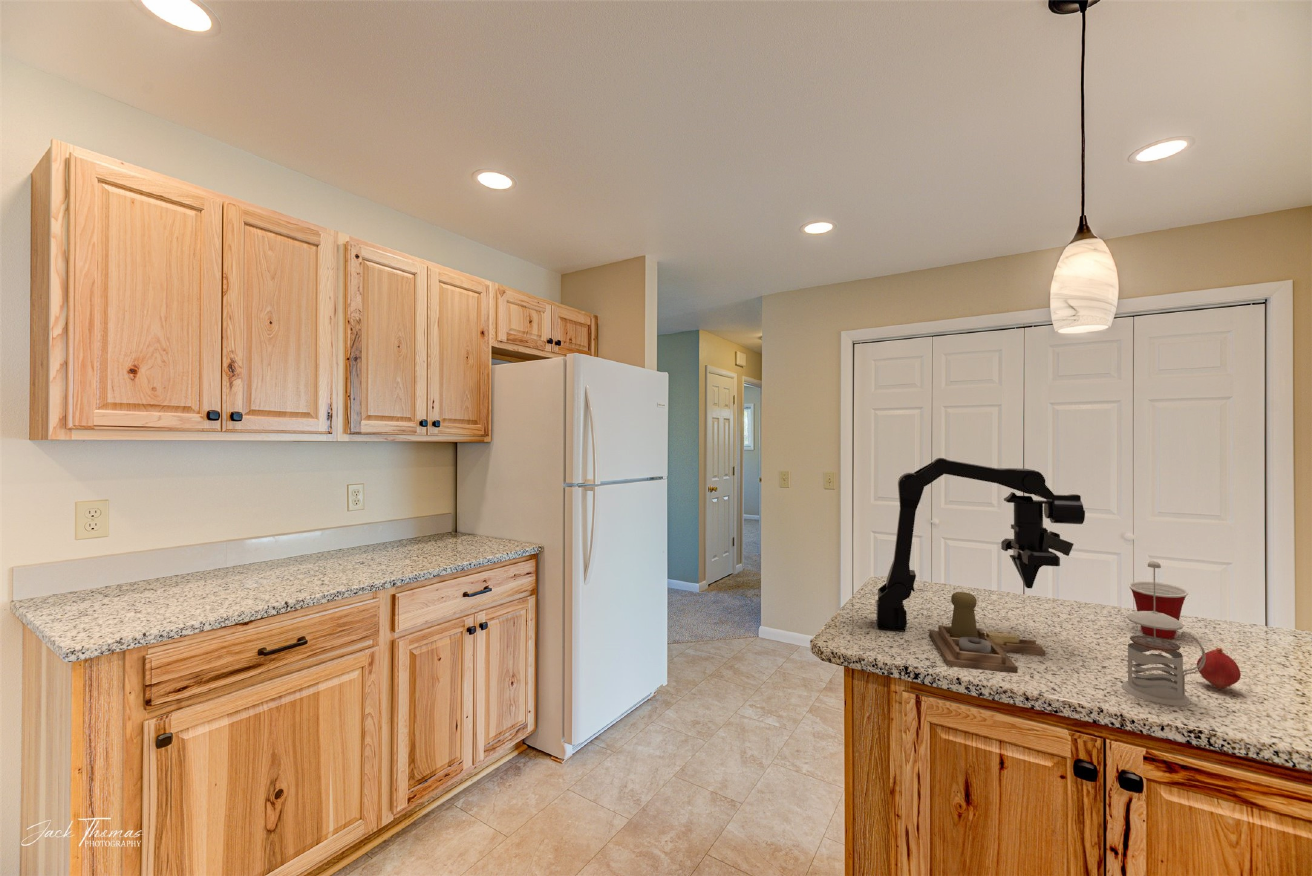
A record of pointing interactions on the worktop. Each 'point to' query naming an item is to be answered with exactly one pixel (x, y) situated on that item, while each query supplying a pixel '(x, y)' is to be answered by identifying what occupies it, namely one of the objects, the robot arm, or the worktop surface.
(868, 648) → the worktop surface
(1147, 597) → the plastic cup
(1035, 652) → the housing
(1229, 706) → the worktop surface
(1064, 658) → the worktop surface
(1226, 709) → the worktop surface
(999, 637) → the bar
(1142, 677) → the french press
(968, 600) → the olive pepper mill
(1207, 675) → the onion
